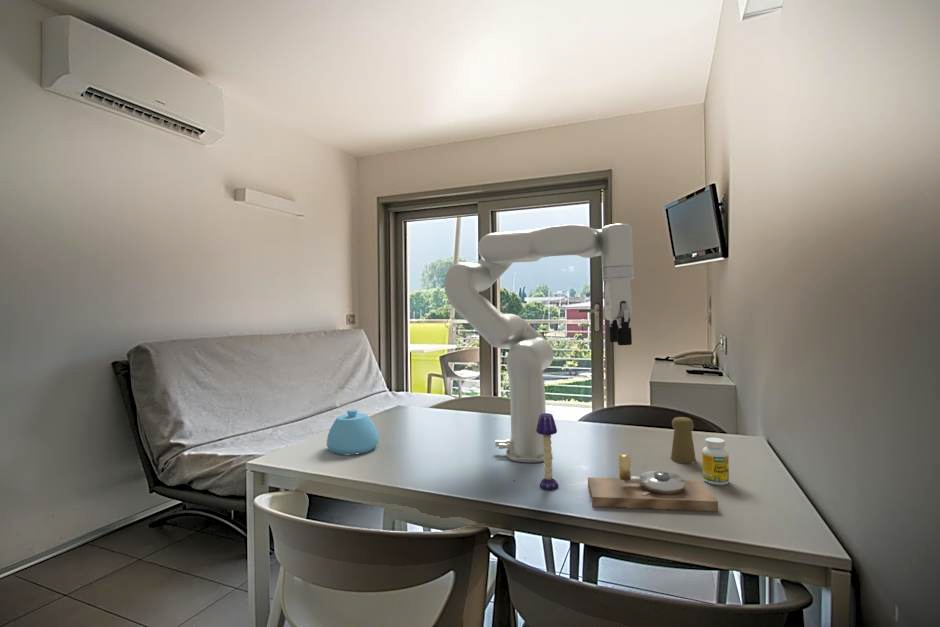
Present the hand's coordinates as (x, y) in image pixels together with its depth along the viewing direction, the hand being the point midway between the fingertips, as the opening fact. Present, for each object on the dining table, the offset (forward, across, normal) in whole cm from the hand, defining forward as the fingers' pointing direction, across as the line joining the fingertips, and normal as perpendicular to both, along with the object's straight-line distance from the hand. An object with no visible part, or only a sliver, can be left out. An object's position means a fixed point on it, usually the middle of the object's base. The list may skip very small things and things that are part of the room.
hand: (620, 343), depth 119 cm
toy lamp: (+31, +13, -20) cm, 39 cm away
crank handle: (+29, +17, +2) cm, 34 cm away
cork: (+32, -7, +16) cm, 36 cm away
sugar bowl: (+30, -15, -76) cm, 83 cm away
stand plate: (+31, +18, +1) cm, 36 cm away
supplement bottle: (+32, +8, +18) cm, 38 cm away
